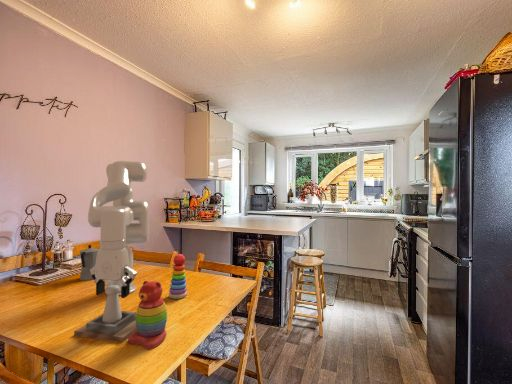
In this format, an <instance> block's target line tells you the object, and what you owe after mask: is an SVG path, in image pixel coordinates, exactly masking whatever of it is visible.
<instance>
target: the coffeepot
mask: <svg viewBox="0 0 512 384" xmlns="http://www.w3.org/2000/svg"><path fill="white" fill-rule="evenodd" d="M98 249H99V248H93V247H92V244H88V245H87V248H85V249H81V250H79V254H80V255H79V256H80V260H81V264H82V265H81V270H80V275H79V280H80V281H83V282H85V281H86V282H88V281H94V279H93V278H92V274H91V272H90V269H91V268H93V267H95V264H96V257H97V253H98Z"/></svg>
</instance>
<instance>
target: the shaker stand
mask: <svg viewBox="0 0 512 384" xmlns="http://www.w3.org/2000/svg"><path fill="white" fill-rule="evenodd" d="M136 313H137V311H136V312H134V311H125V310H121V314H122V318H121V320H120V321H119V322H117V323H116V324H105V323H103V321H102V318H103V313H102V314H100V315H98V316H97V317H95V318H93V319H92V320H90V321H87V322H86V323H85V324H84V325H82V326H80V327H79V328H77V329H75V330H74V331H73V336H74V337H79V338H80V337H81V338H87V339H88V338H89V339H96V340H103V341H104V340H105V341H108V342H109V341H110V342H117V343H118V342H119V343H125V342H126V341H128V338H129V336H130V335H131V334H133V333H134V332H136V331H137V327H136Z"/></svg>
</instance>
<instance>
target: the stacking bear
mask: <svg viewBox="0 0 512 384" xmlns="http://www.w3.org/2000/svg"><path fill="white" fill-rule="evenodd" d="M142 284H143V285H142V286H141V287H140V289H139V291H138V298H139V299H140V301H139V303H138V305H137V309H136V327H137V331H136V332H134V333H133V334H131V335H130V336H129V338H128V339H127V343H128V344H131V345H138V344H139V345H141V346H143V348H144V349H147V350H150V349H155V348H156V347H158V346H160V344H162V343H163V342H164V341H165V339H166V337H167V330H166V326H167V321H168V312H167V311H168V310H167V306H166V302H165V301H164V299H163V298H162V295H163V286H162V284H161V282H159V281H155V280H152V281H151V280H150V281H148V280H144V281H143V282H142Z"/></svg>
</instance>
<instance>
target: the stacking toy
mask: <svg viewBox="0 0 512 384" xmlns="http://www.w3.org/2000/svg"><path fill="white" fill-rule="evenodd" d="M172 261H173V263H174V265H173V267H172V268H173V269H172V272H171V273H172V275H171V280H170V285H169V286H170V287H169V289H168V297H169V298H170V299H173V300H178V299H179V300H181V299H183V298H186V297H187V296H188V291H187V282H186V281H187V279H186V274H185V273H186V270H185V268H186V267H185V266H186V265H185V262H186V258H185V256H184V254H181V253H178V254H175V255H174V257H173V260H172Z"/></svg>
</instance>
